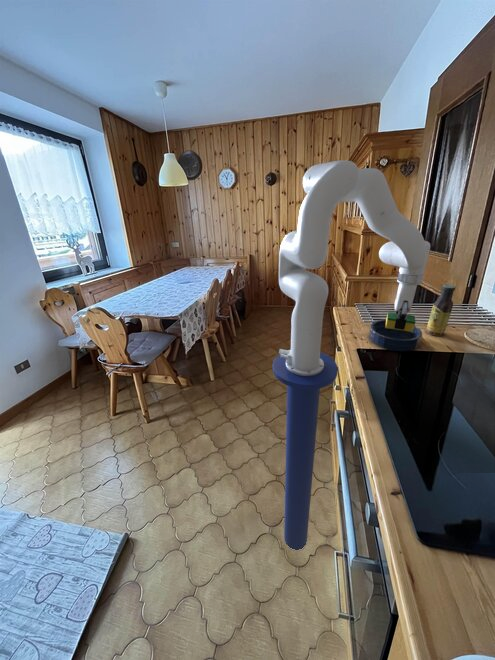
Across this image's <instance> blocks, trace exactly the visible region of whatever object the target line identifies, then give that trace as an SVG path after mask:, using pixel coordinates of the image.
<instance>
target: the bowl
mask: <svg viewBox="0 0 495 660" xmlns="http://www.w3.org/2000/svg"><path fill="white" fill-rule="evenodd" d="M422 337H423V331H422V330H421V328H420V327H418V326H416V325H415V326H414V330H413V332H410V331H403V330H397V329H390V328H386V319H378V320H376V321H373V322H372V323H371V324H370V326H369V333H368V338H369V340H370V342H371V343H372V344H374V345H376V346H377V347H379V348H382V349H385V350H387V351H393V352H409V351H414V350H416V349H418V348H419V347H420V345H421V341H422Z"/></svg>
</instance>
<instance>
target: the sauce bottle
mask: <svg viewBox="0 0 495 660" xmlns="http://www.w3.org/2000/svg"><path fill="white" fill-rule="evenodd" d="M456 288H457V287H456V286H455V285H453V284H447V283H446V284H443V285H442V286H441V291H440V294H439V297H438V298H437V299H436V300H435V302H434V303H433V305H432V308H431V311H430V314H429V317H428V318H429V319H428V322H427V325H426V333H427V334H429V335H431V336H436V337H441V336H443V335H444V334H445V332H446V330H447V326H448V323H449V320H450V317H451V314H452V311H453V307H454V301H453V295H454V293H455V291H456Z"/></svg>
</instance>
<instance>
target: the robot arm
mask: <svg viewBox="0 0 495 660" xmlns="http://www.w3.org/2000/svg"><path fill="white" fill-rule="evenodd" d="M302 189H303V191H304V193H305V194H306V195H305V197H304V199H303V201H302V203H301V205H300V208H299V211H298V212H299V213H298V221H297V230H293V231H291V232H290V231H289V233H287V234H286V235H285V236H284V237H283V239H282V241H281V242H280V243H281V244H280V247H279V256H278V285H279V288H280V291H281V292H282V293H283V294H284V295H285V296H287V297H289V298H291V299H292V300H293V301H295V305H294V308H293V310H292V312H291V324H290V326H291V327H290V332H291V333H290V349H288V350H287V349H284V348H283V349H282V348H279V350H278V355H280V354H281V355H280V358H285V359H287V360H286V367H287V369H288V370H289V371H291V372H292V373H294V374H297V375H301V376H313V375H316V374H319V373H320V372H321V371H322V370H323V369H324V362H323V361H322V359H320V352H321V348H322V347H321V346H322V335H323V321H324V320H323V319H324V311H325V307H326V303H327V300H328V297H329V292H330V291H329V285H328V283H327V281H326V280H325V279H324V278H323V277H322V276H321V275H318V274H317V273H314V272H312V271H309V270H318V269H320V268H321V267H323V265H324V264H325V263H326V260H327V256H328V249H329V241H330V231H331V229H330V228H331V223H332V218H333V214H334V212H335V209H336V208H337V206H338V205H339V204H340V203H341V202H342V203H356V204H357V206H358V208H359V210H360V212H361V214H362V216H363V219H364V220H365V222H366V225H367V226H368V228H369V229H370V230H371V231H372V232H374V233H376V234H377V235H378V236H381V237H383V238H384V239H386V240H388V242H386V243H384V244H383V245H382V246H381V247H380V249H379V251H378V257H379V260H380V261H381V262H382V263H384V264H385V265H389V266H393V267H398V268H399V269H398V274H397V279H396V282H397V283H399V284H398V286H397V291H396V296H395V300H394V311H395V313H397V314H398V317H397V318H396V322H395V327H394V328H395V329H402V330H404V328H405V324H406V320H407V319H406V318H407V315H408V313H410V312H411V310H412V307H413V304H414V300H415V295H416V291H417V287H418V286H420V285H422V284H423V278H424V274H425V270H426V266H427V262H428V258H429V254H430V250H431V243H430V242H429V241H427V240H425V239H424V236H423V234H422V232H421V230H419V229H418V227H417V226H416V225H414V224H413V223H412V222H411V220H409V219H408V218H407V217H406V216H405V215H403V214H402V213H401V212H400V211H399V209H398V207H397V204H396V201H395V199H394V197H393V194H392V192H391V189H390V186H389V184H388V180H387V179H386V176H385V174H384V173H383V172H382V171H381V170H380V169H378V168H374V167H368V168H367V167H366V168H359V167H358V165H357V164H356V163H355V162H354V161H351V160H347V159H341V160H334V161H329V162H323V163H322V162H321V163H317V164H314V165H312V166H311V167H309V168H308V169H307V170H306V171H305V173H304V175H303V177H302Z"/></svg>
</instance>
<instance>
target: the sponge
mask: <svg viewBox="0 0 495 660" xmlns="http://www.w3.org/2000/svg"><path fill="white" fill-rule="evenodd" d="M397 317H398V314H397V313H396V312H387V314H386V319H385V320H386V328H390V329H395V328H394V327H395V322H396V318H397ZM406 319H407V320H406V324H405V328H404V330H403V331H410V332H413V330H414V326H416V316H415V315H413V314H407V318H406ZM397 330H402V329H397Z"/></svg>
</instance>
